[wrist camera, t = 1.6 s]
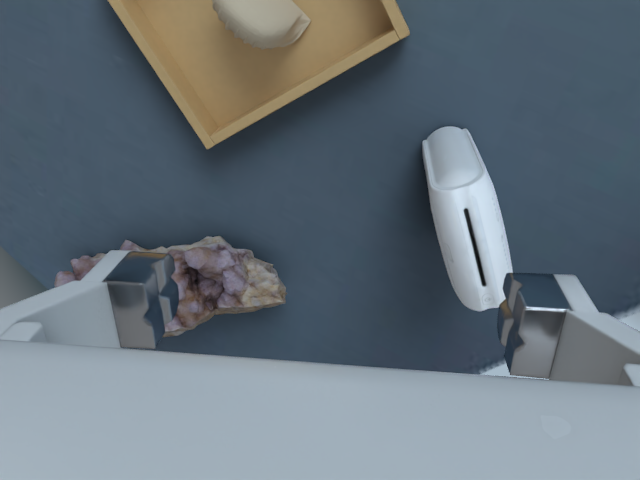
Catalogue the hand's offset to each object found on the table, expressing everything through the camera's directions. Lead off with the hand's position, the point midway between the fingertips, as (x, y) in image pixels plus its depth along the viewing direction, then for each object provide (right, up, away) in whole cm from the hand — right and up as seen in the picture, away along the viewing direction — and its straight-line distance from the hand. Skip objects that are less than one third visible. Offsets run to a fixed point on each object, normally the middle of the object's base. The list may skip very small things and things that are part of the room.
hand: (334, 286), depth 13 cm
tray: (-5, +19, +26) cm, 33 cm away
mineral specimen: (-13, -1, +38) cm, 40 cm away
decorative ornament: (-5, +19, +26) cm, 32 cm away
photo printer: (+11, +6, +31) cm, 33 cm away
